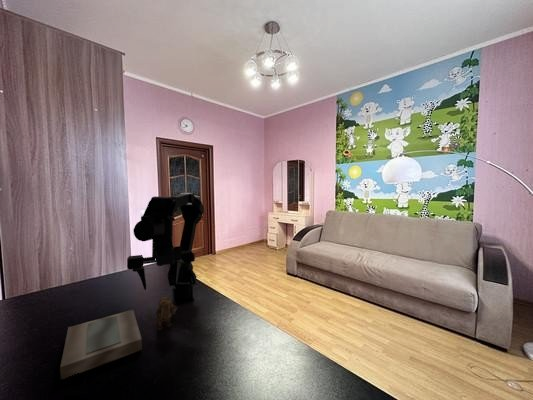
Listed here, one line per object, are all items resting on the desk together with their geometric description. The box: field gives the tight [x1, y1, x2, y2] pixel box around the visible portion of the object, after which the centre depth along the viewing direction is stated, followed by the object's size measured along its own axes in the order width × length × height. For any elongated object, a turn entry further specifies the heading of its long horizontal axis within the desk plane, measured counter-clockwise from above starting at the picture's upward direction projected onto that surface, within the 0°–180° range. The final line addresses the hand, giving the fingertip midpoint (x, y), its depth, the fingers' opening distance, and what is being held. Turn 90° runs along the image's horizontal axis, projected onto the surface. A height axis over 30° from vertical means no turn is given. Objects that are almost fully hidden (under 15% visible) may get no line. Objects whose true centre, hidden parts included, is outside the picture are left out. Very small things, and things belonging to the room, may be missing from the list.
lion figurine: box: [156, 296, 178, 331], centre depth 73 cm, size 15×5×9 cm, turn 34°
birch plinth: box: [59, 309, 143, 380], centre depth 63 cm, size 16×18×3 cm
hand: (161, 286), depth 71 cm, fingers open, 9 cm apart
